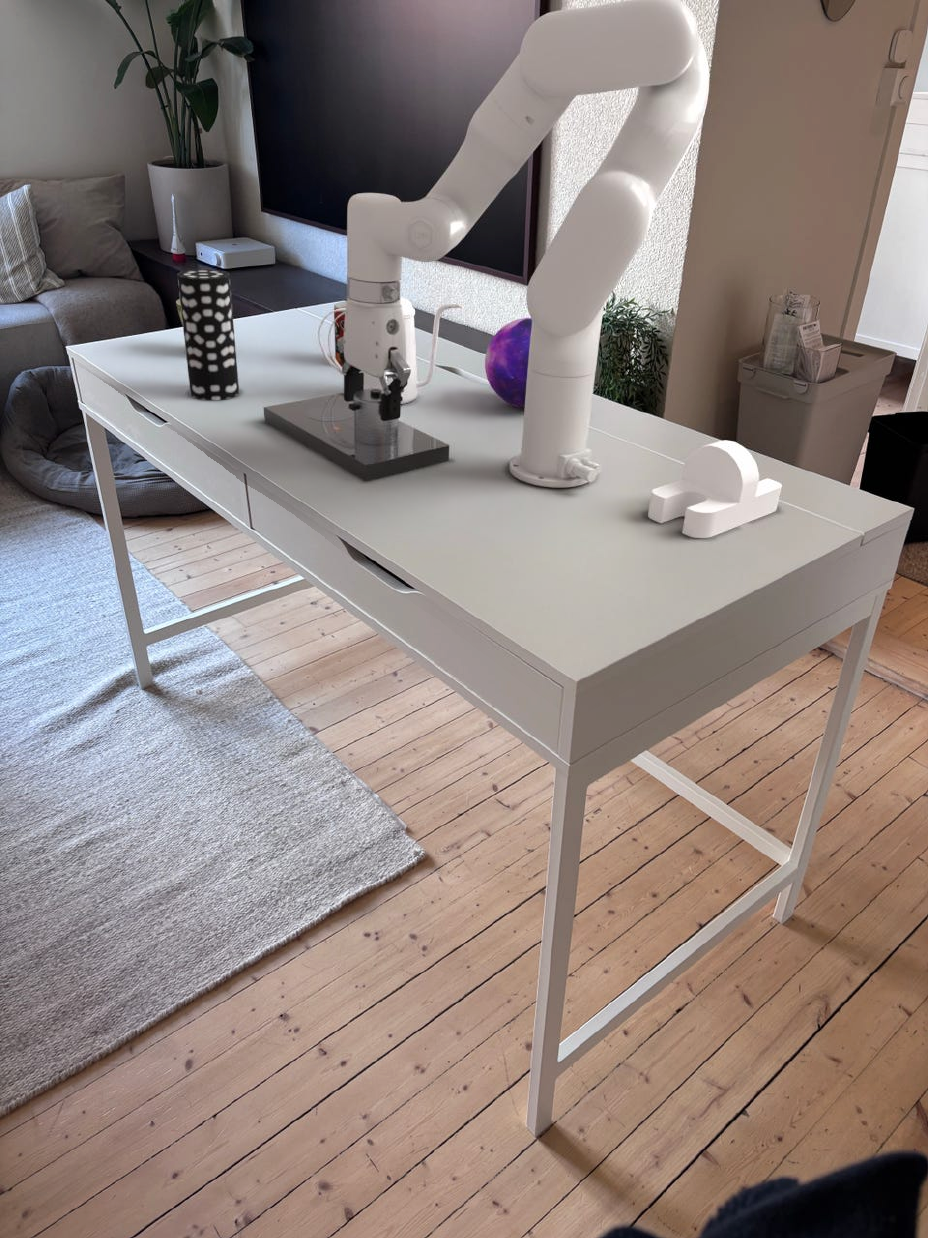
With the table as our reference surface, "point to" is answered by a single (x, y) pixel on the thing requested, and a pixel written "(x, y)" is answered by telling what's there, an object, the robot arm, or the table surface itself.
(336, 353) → the canned food
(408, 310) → the coffeepot
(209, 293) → the white-spotted black cylinder
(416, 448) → the hot plate
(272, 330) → the table surface
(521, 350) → the decorative orb
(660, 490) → the slotted bracket
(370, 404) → the pot
